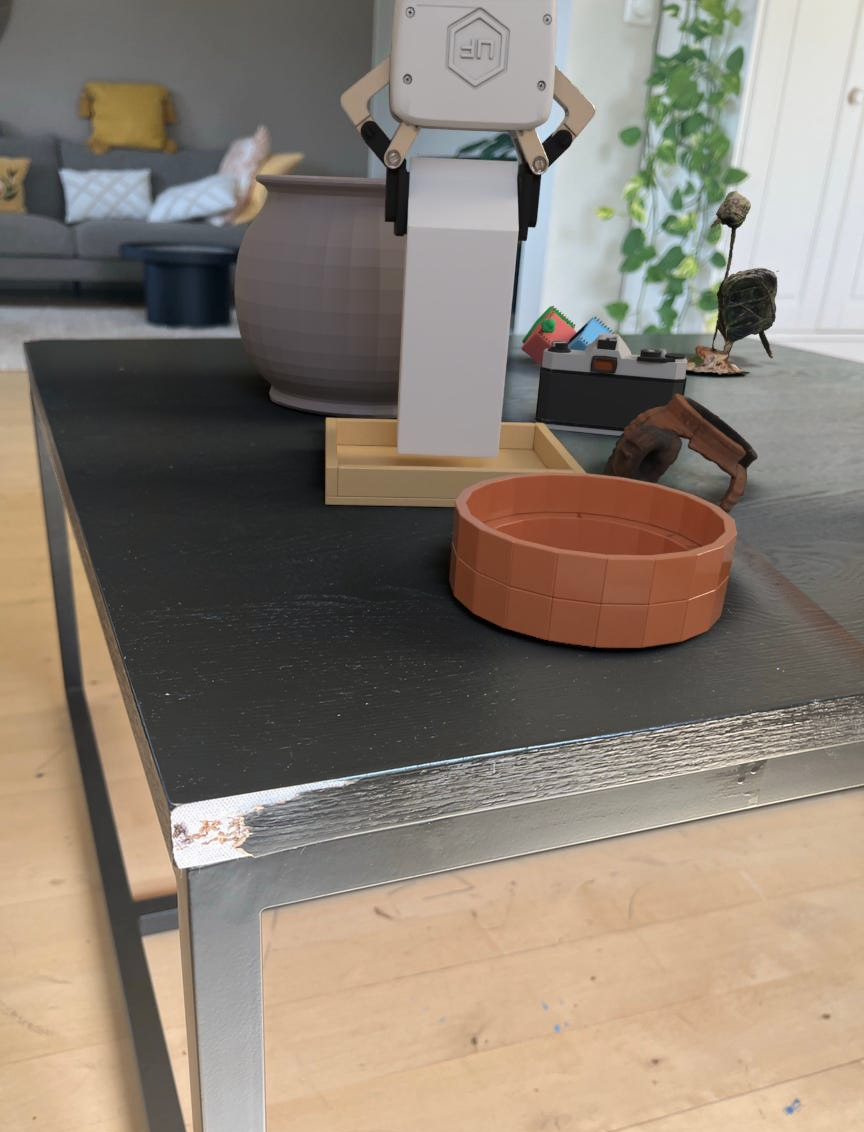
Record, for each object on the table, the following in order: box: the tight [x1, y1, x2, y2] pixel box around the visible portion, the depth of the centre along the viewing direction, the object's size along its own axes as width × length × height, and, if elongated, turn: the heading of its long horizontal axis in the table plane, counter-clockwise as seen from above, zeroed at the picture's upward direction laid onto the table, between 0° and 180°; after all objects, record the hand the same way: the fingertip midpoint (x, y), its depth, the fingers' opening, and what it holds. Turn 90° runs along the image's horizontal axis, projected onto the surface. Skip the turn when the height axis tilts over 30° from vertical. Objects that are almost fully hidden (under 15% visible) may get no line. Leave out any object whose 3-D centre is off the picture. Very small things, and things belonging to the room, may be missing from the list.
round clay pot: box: [233, 173, 406, 419], centre depth 93 cm, size 25×25×20 cm
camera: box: [534, 333, 688, 437], centre depth 89 cm, size 13×8×9 cm, turn 77°
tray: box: [324, 417, 587, 508], centre depth 73 cm, size 18×15×3 cm
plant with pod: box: [685, 190, 779, 375], centre depth 115 cm, size 8×11×20 cm
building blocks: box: [521, 304, 616, 366], centre depth 117 cm, size 8×8×12 cm
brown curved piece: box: [601, 394, 759, 514], centre depth 69 cm, size 12×10×8 cm
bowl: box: [448, 472, 738, 649], centre depth 52 cm, size 14×14×5 cm
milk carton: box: [396, 156, 520, 458], centre depth 68 cm, size 7×7×19 cm
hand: (459, 235), depth 66 cm, fingers closed on milk carton, 7 cm apart
